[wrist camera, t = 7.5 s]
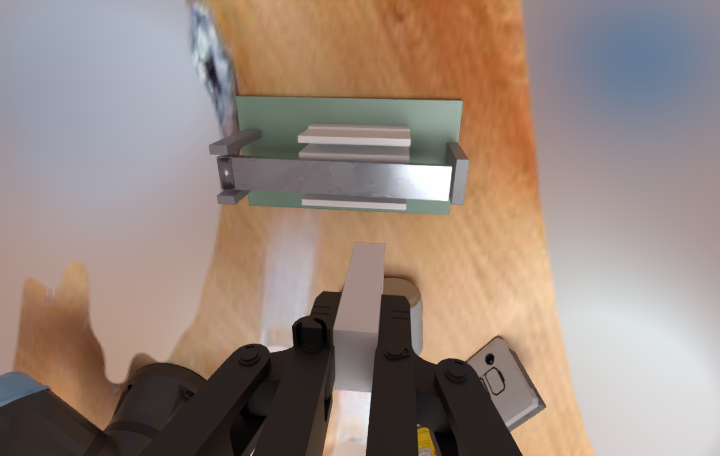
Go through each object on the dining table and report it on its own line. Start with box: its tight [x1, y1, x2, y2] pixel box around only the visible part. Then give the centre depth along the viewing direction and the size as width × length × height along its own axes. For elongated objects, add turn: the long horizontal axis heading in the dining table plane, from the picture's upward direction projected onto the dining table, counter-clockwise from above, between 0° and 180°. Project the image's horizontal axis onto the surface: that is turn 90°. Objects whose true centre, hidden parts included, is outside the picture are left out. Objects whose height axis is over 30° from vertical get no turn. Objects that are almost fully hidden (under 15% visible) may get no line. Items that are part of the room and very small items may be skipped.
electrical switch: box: [466, 338, 546, 432], centre depth 46 cm, size 9×5×9 cm, turn 145°
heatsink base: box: [209, 96, 469, 215], centre depth 35 cm, size 23×12×9 cm, turn 89°
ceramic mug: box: [383, 278, 423, 356], centre depth 44 cm, size 11×8×8 cm
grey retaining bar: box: [217, 155, 452, 201], centre depth 32 cm, size 21×3×2 cm, turn 89°
